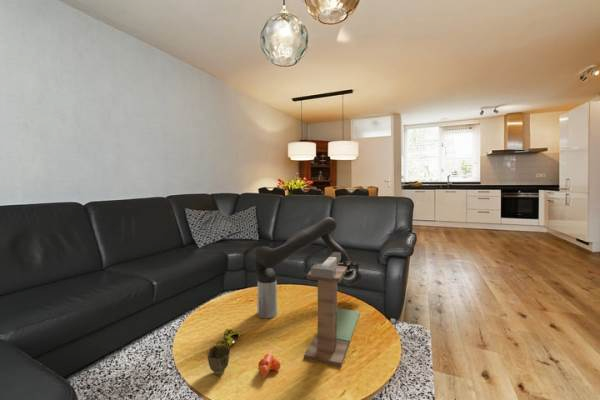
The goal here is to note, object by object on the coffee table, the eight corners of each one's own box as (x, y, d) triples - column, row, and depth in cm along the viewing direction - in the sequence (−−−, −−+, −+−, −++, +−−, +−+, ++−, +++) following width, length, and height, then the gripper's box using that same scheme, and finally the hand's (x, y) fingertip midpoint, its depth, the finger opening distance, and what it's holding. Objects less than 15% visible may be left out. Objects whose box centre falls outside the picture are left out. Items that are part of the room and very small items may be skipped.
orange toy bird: (266, 343, 106) (257, 364, 94) (285, 350, 105) (278, 373, 93) (262, 355, 107) (253, 377, 95) (281, 362, 106) (274, 386, 94)
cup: (224, 382, 94) (223, 358, 93) (203, 378, 95) (202, 356, 95) (233, 367, 101) (233, 345, 101) (214, 364, 103) (214, 343, 102)
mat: (332, 308, 146) (332, 307, 146) (360, 313, 141) (360, 311, 141) (316, 336, 121) (316, 334, 121) (349, 342, 116) (349, 340, 116)
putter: (328, 258, 124) (328, 251, 124) (346, 260, 121) (346, 253, 121) (310, 276, 102) (310, 267, 101) (332, 278, 99) (332, 270, 99)
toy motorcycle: (226, 325, 123) (242, 326, 122) (226, 334, 123) (242, 335, 122) (214, 341, 111) (231, 342, 110) (214, 350, 111) (231, 352, 110)
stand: (315, 338, 119) (315, 263, 117) (348, 345, 114) (349, 267, 112) (303, 358, 106) (303, 274, 104) (341, 367, 101) (342, 278, 99)
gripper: (334, 262, 148) (327, 253, 135) (362, 264, 144) (357, 256, 130) (332, 276, 145) (325, 269, 132) (360, 280, 141) (356, 273, 127)
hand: (341, 263), depth 131 cm, fingers open, 8 cm apart
